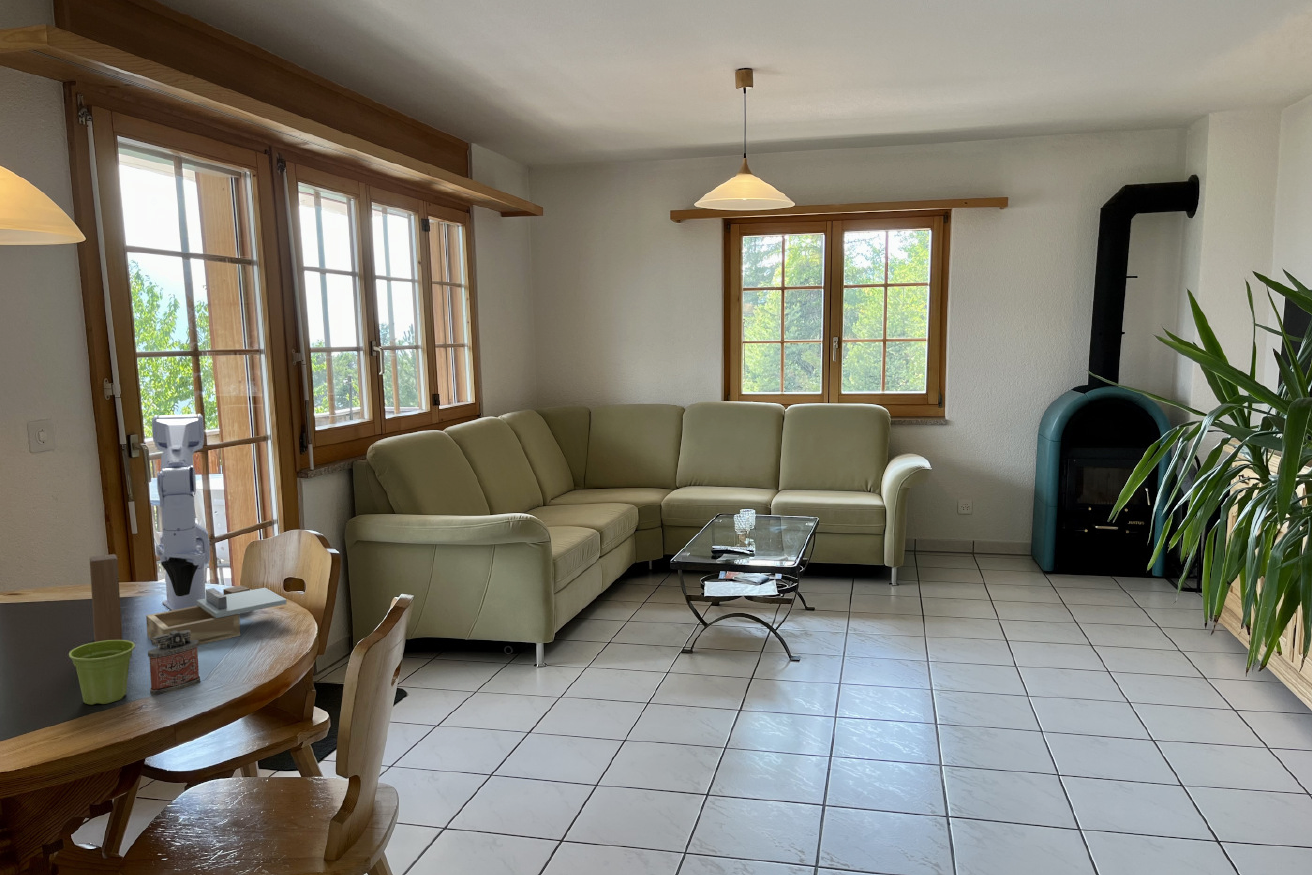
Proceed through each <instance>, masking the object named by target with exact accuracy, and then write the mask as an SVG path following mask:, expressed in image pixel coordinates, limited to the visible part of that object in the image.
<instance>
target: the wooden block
mask: <svg viewBox="0 0 1312 875" xmlns="http://www.w3.org/2000/svg"><path fill="white" fill-rule="evenodd" d="M118 562H119V561H118V556H117V554H115V553H112V554H104V555H103V554H102V555H95V556H90V557H89V572H90V587H91V602H92V623H93V636H94V642H99V641H106V640H123V629H122V611H121V610H122V609H121V596H120V595H121V593H120V581H119V579H120V578H119V566H118V564H119V563H118Z"/></svg>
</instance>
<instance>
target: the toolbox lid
mask: <svg viewBox="0 0 1312 875" xmlns="http://www.w3.org/2000/svg"><path fill="white" fill-rule="evenodd" d="M205 593H206V599H200V600H197V605H198V606H199V607H201V608H202V609H204V610H205V611H207V612H208V613H209V614H211V615H212V616H214V617H215V618H220V617H225V616H230V615H235V614H239V615H240V614H245V613H248V612H254V611H258V610H259V611H260V610H263V609H268V608H273V607H279V606H284V605H287V599H286V598H284V597H283V596H281V595H279V594H277V593H275V592H274V591H272V590H270V589H268V588H267V587H260V588H254V589H250V590H249V591H244V592H238V593H233V594H227V595H224V594H223V593H222V592H220V591H219V590H217V589H215V588H214V587H213V588H205Z"/></svg>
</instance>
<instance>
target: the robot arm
mask: <svg viewBox="0 0 1312 875" xmlns="http://www.w3.org/2000/svg"><path fill="white" fill-rule="evenodd" d="M204 425H205V424H204V416H203V415H202V414H201V413H197V414H171V415H170V414H168V415H167V414H165V415H159V414H155V415H154V416H152V418H151V429H152V430H151V431H152V432H151V433H152V440H153V442H154V446H155V447H156V449H157V451H158V452H159V451H160V452H162V453H161V456H160V457H161V458H160V470H159V471H157V473H156V485H157V486H156V487H157V488H156V489H157V493H158V498H159V507H161V509H160V510H161V525H162V526H161V527H162V532H161V535H160V542H159V544H157V545H155V551H156V552H155V553H156V556H159V557H160V559H159V560H160V566H162V567H163V569H164V570H165V572H166V573H165V588H166V591H165V592H166V599H165V600H162V601H161V602H162V604H163V605H164V606H166V607H167V608H168V609H170V611H172V610H177V609H182V608H187V607H193V606H198V605H197V600H200V599H206V578H205V577H206V574H205V568H206V567H205V565H207V564H209V562H210V561H211V553H210V552H211V551H210V550H211V549H210V547H211V546H210V545H211V544H210V538H209V531H208V530H207V528H205V527H203V526H202V525H200V524H198V523H197V522H196V515H195V514H196V511H195V496H196V492H197V480H196V471H195V466H194V454H195V452H197V451H200V450H202V449H203V448H204V447H203V446H204V445H205V444H204V443H205V430H204Z"/></svg>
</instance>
